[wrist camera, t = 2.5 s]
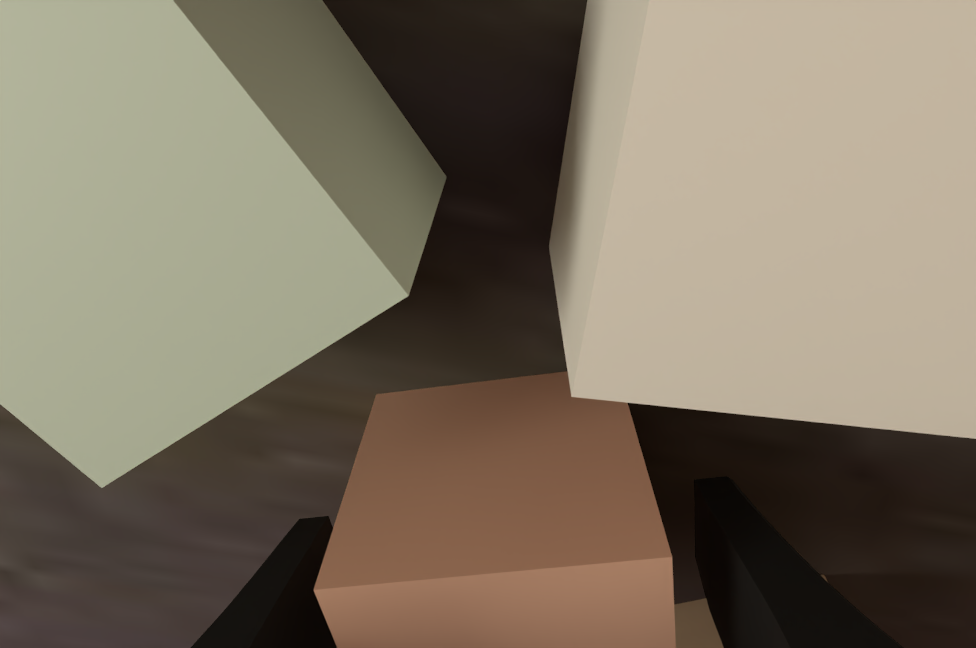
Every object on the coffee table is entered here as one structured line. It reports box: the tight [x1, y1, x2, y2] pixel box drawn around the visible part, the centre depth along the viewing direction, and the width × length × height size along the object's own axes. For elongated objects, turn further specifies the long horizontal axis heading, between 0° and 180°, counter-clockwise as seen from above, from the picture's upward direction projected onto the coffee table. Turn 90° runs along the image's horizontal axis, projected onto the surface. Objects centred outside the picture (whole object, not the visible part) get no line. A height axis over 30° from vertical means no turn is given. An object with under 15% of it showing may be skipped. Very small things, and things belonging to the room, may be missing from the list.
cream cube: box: [549, 0, 976, 439], centre depth 9 cm, size 5×5×5 cm
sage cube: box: [0, 0, 447, 488], centre depth 9 cm, size 5×5×5 cm
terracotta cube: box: [314, 371, 676, 648], centre depth 12 cm, size 5×5×5 cm
